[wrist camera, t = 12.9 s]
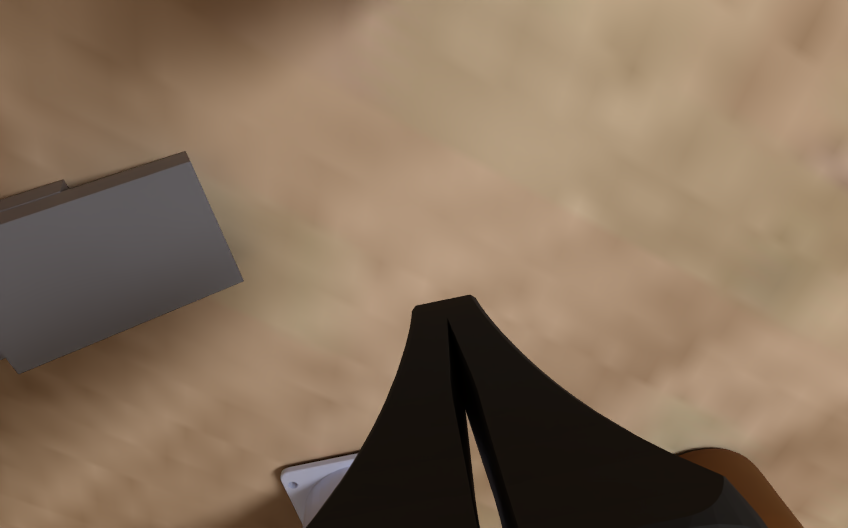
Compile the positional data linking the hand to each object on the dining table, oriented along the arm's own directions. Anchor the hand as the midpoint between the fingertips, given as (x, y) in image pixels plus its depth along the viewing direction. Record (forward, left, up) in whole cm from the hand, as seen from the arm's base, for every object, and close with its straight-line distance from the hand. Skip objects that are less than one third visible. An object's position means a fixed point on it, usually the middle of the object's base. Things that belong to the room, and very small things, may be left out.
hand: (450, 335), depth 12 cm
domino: (0, +8, -10) cm, 12 cm away
